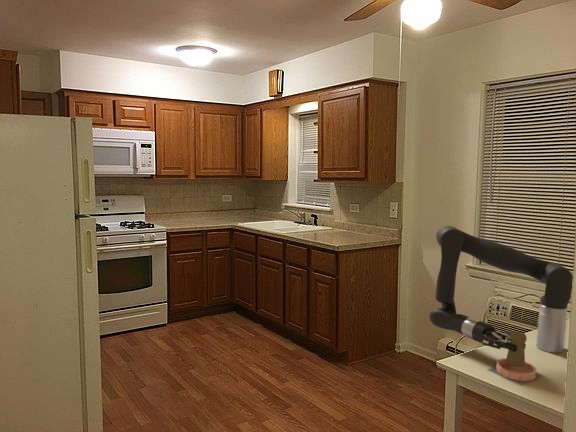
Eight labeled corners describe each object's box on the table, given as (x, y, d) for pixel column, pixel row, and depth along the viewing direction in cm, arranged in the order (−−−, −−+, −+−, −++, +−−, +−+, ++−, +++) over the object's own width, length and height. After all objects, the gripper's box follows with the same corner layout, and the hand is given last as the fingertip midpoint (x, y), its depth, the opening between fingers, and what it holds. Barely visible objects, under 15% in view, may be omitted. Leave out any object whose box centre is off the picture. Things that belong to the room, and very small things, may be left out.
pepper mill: (527, 368, 160) (530, 336, 159) (508, 365, 162) (511, 334, 160) (522, 360, 166) (525, 330, 165) (503, 358, 167) (506, 328, 166)
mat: (510, 362, 173) (510, 361, 173) (544, 377, 162) (545, 376, 162) (486, 370, 166) (487, 369, 166) (521, 386, 155) (521, 385, 155)
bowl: (510, 362, 172) (511, 355, 172) (543, 376, 162) (543, 369, 162) (488, 369, 166) (489, 363, 166) (521, 384, 156) (521, 377, 156)
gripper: (465, 324, 172) (508, 341, 158) (491, 317, 179) (534, 333, 165) (463, 343, 173) (506, 362, 159) (489, 336, 181) (532, 354, 166)
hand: (520, 347), depth 162 cm, fingers closed on pepper mill, 4 cm apart
